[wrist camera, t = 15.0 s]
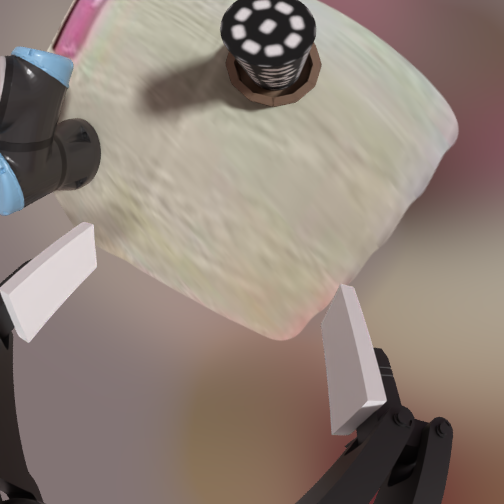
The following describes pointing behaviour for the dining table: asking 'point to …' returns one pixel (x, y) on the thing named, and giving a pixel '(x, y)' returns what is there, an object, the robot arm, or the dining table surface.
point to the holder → (281, 96)
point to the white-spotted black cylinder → (269, 39)
